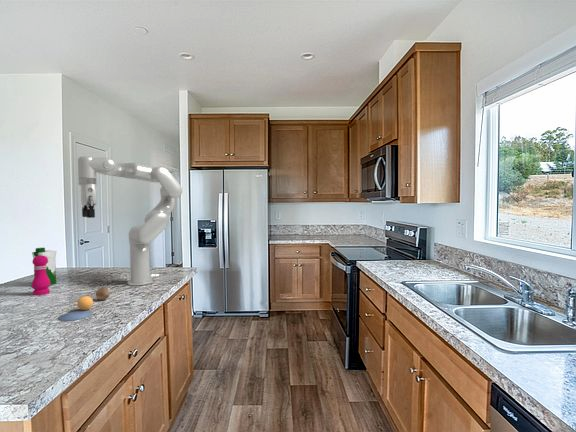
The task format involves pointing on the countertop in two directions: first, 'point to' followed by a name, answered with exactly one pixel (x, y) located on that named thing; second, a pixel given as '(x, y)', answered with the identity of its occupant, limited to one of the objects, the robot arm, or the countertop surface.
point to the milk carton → (50, 265)
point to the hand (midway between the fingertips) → (88, 217)
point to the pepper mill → (40, 275)
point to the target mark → (74, 315)
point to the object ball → (85, 303)
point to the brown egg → (102, 293)
